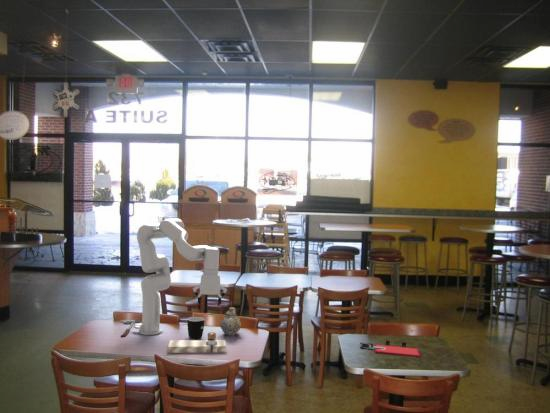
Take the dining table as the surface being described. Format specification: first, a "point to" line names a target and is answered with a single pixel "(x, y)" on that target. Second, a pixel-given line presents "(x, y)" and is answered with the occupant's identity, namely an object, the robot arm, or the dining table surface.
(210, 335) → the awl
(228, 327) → the grey bulbous vase
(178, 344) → the subfloor board
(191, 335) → the mug
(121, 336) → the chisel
